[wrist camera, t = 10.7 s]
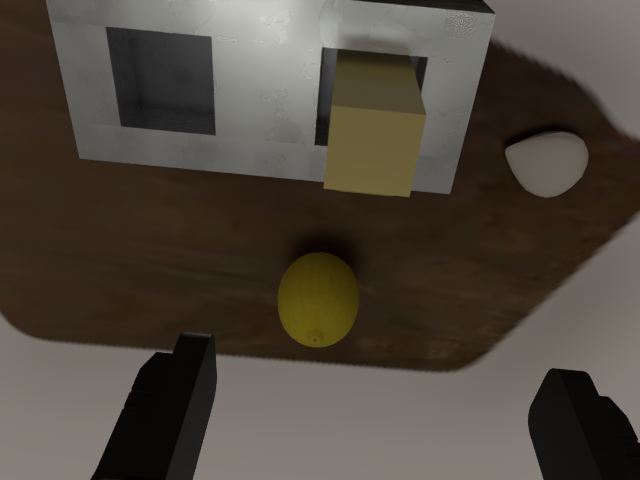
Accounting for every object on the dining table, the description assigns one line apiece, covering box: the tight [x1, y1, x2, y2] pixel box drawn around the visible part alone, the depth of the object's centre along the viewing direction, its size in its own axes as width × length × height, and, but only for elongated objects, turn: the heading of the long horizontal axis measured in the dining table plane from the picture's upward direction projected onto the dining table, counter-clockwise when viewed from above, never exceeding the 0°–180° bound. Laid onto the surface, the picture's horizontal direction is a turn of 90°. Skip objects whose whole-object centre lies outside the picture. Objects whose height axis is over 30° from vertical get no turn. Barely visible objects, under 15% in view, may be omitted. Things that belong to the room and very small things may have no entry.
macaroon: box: [505, 131, 588, 198], centre depth 32 cm, size 4×5×2 cm
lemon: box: [278, 252, 359, 347], centre depth 35 cm, size 6×6×8 cm
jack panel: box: [46, 0, 496, 194], centre depth 29 cm, size 10×22×4 cm, turn 86°
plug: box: [324, 49, 427, 197], centre depth 27 cm, size 5×4×9 cm
